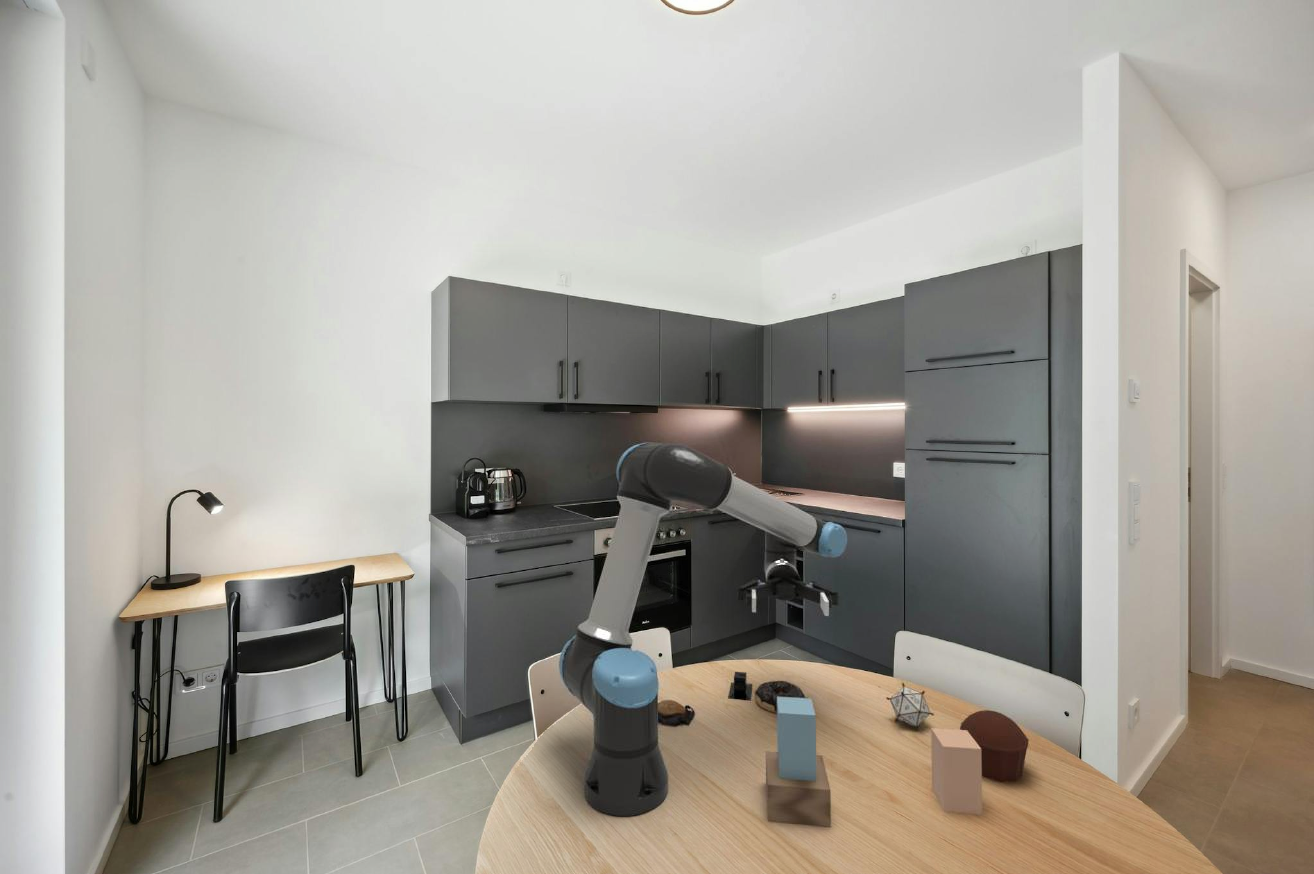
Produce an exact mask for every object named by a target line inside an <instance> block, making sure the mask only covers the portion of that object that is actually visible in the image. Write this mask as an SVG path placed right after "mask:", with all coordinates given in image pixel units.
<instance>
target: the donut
mask: <svg viewBox="0 0 1314 874" xmlns="http://www.w3.org/2000/svg"><path fill="white" fill-rule="evenodd" d="M754 697H755V700H756V703H757V705H759V707H761V708H762V709H764V710H766V711H768V712H770V713H775V714H777V697H791V698H806V696H805V693H804V692H803V690H802V689H801V688H800V687H799V686H798V685H796V684H793V683H791V682H788V681H786V680H785V681H784V680H772V681H767V682H763V683H761V684H760V685H759V686H758V687H757V689H756V690H755V692H754Z"/></svg>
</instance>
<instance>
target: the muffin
mask: <svg viewBox="0 0 1314 874" xmlns="http://www.w3.org/2000/svg"><path fill="white" fill-rule="evenodd" d="M959 730H967V731H968V732H969V734H970V735H971V736H972V738H973V739H974V740H975V741H976V743H977V744H978V745H979V747H980V748H981V762H982V777H983V778H985V779H991V780H994V781H997V782H1000V783H1005V782H1009V783H1010V782H1013V783H1014V782H1017V781H1018V779H1020V778H1021V777H1022V776H1023V772H1024V766H1025V761H1026V755H1027V750H1028V747H1029V738H1028V737H1027V736H1026V734H1025V733H1024V731H1022V728H1020V726H1019V725H1018V724H1017V722H1015V721H1014V720H1013V719H1012V718H1010V717H1008V716H1007V715H1005V714H1003V713H1001V712H999V711H995V710H989V709H986V710H978V711H975V712H974V713H971V714H969V715H968V716H967V717H966V718H965V719H964V720H963V721H961V722H960V726H959Z"/></svg>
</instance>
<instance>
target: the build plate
mask: <svg viewBox="0 0 1314 874" xmlns="http://www.w3.org/2000/svg"><path fill="white" fill-rule="evenodd" d="M747 677H748V676H747V672H743V671H734V675H733V681H732V682H730V687H729V691H728V695H727V699H731V700H739V701H750V702H751V700H752V691H753V683H749V682H748V681H747V679H748V678H747Z"/></svg>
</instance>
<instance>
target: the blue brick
mask: <svg viewBox="0 0 1314 874" xmlns="http://www.w3.org/2000/svg"><path fill="white" fill-rule="evenodd" d="M816 720H817V719H816V712H815V708H814V703H813V701H812V698H806V697H805V698H791V697H777V713H776V736H777V737H776V745H777V746H776V747H777V748H776V752H777V759H778V768H779V778H783V779H795V780H807V781H816V755H817V738H816V737H817V733H816V732H817V731H816V730H817V721H816Z"/></svg>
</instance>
